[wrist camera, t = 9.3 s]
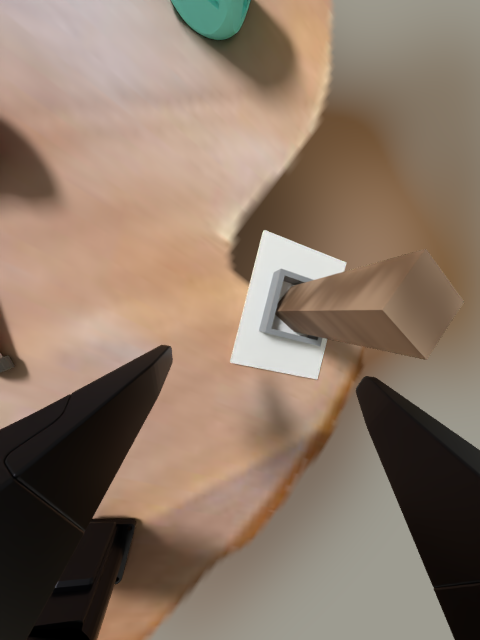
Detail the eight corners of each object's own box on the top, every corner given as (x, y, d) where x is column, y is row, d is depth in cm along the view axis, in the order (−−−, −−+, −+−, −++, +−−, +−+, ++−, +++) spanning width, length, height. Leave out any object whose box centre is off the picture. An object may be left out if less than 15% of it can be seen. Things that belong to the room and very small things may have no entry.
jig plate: (314, 378, 23) (328, 385, 21) (229, 361, 20) (233, 368, 18) (343, 263, 23) (359, 258, 21) (262, 231, 21) (271, 221, 18)
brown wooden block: (293, 331, 22) (426, 360, 9) (271, 311, 21) (382, 309, 8) (312, 307, 22) (464, 301, 9) (291, 286, 21) (425, 248, 9)
